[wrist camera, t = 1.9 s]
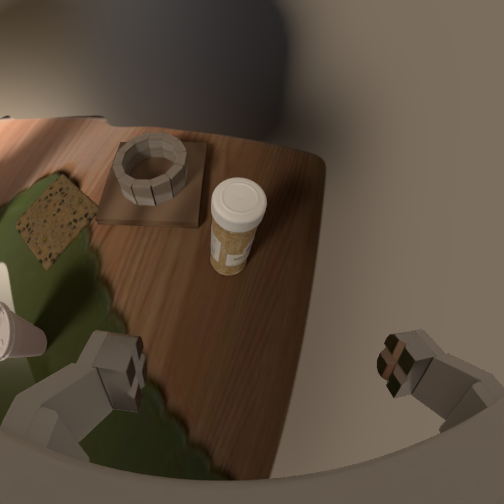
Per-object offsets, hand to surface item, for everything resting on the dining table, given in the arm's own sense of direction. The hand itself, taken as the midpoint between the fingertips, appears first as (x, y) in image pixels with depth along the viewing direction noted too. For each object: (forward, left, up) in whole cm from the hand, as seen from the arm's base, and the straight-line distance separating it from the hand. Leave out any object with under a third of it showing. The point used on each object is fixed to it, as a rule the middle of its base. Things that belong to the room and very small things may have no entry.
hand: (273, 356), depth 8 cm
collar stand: (-11, +23, -23) cm, 35 cm away
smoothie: (-25, -1, -24) cm, 34 cm away
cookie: (-26, +17, -24) cm, 40 cm away
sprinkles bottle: (0, +12, -24) cm, 27 cm away
